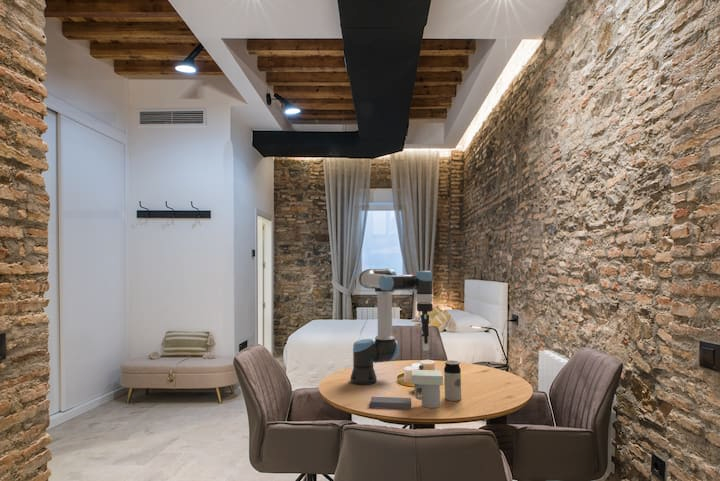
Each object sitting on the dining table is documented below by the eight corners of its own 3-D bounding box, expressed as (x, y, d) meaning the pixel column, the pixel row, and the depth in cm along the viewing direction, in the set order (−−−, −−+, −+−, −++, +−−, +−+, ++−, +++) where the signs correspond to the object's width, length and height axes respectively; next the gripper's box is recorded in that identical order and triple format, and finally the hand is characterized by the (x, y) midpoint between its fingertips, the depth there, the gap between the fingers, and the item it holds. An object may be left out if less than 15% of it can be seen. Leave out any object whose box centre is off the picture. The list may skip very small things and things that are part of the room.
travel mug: (442, 397, 203) (441, 360, 205) (456, 395, 206) (455, 359, 207) (449, 402, 196) (448, 364, 197) (464, 400, 198) (463, 362, 199)
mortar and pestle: (431, 393, 210) (430, 369, 211) (412, 392, 211) (412, 369, 212) (430, 387, 221) (429, 364, 222) (413, 386, 223) (412, 364, 223)
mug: (438, 402, 196) (437, 379, 196) (441, 408, 187) (441, 383, 188) (413, 402, 196) (413, 379, 197) (415, 408, 187) (415, 384, 188)
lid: (412, 378, 199) (411, 369, 199) (441, 378, 197) (440, 370, 197) (412, 384, 188) (411, 375, 188) (442, 385, 186) (442, 376, 186)
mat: (371, 401, 197) (371, 396, 197) (411, 403, 194) (411, 397, 195) (370, 407, 189) (370, 401, 189) (411, 408, 186) (411, 403, 187)
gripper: (434, 305, 182) (434, 353, 181) (431, 300, 207) (432, 343, 206) (417, 305, 183) (418, 352, 182) (416, 300, 208) (417, 342, 206)
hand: (425, 347), depth 194 cm, fingers open, 13 cm apart
